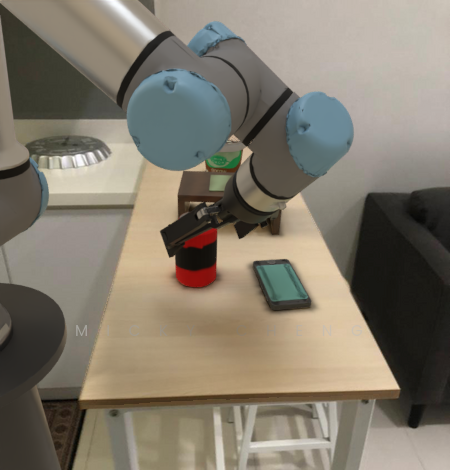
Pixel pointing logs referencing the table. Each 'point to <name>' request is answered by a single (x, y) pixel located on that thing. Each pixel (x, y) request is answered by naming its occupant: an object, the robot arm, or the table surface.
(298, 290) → the smartphone
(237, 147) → the food container
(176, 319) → the table surface
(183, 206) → the shelf
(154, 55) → the robot arm
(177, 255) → the soda can
